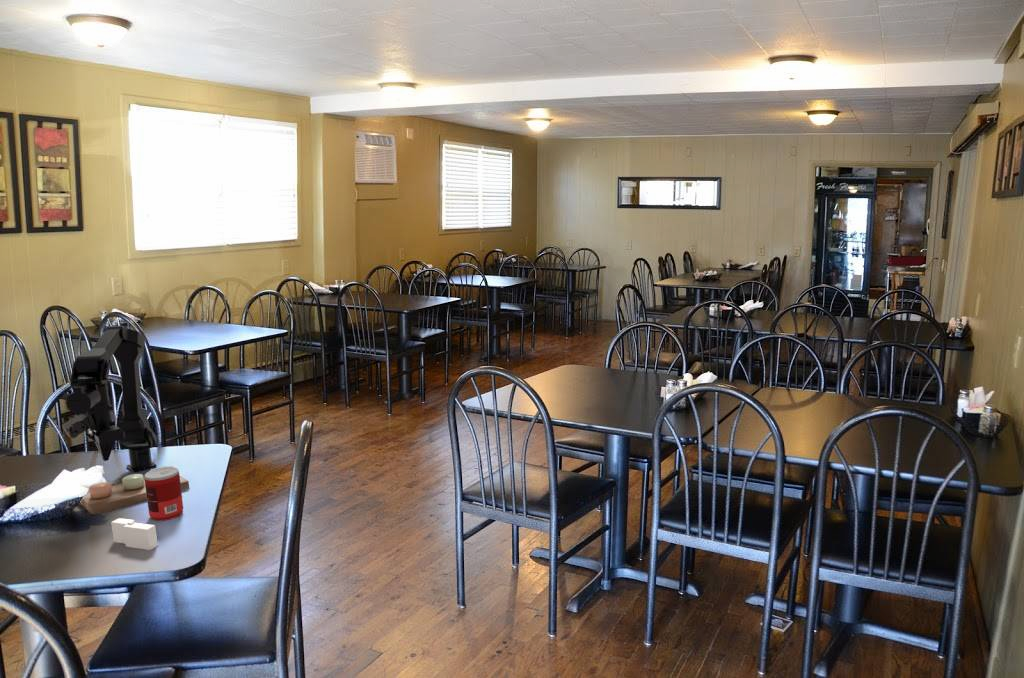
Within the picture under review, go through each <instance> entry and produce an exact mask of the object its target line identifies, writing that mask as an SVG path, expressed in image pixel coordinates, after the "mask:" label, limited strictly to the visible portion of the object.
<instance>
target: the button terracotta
mask: <svg viewBox="0 0 1024 678" xmlns="http://www.w3.org/2000/svg"><path fill="white" fill-rule="evenodd" d="M111 486H112V484H111V482H109V481H103V482H98V483H94V484H91V485H90V486H89V487H88V489H89V490H88V492H90V497H91V498H102V497H106V496H109V495H111V494H112V488H111Z"/></svg>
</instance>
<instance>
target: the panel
mask: <svg viewBox="0 0 1024 678" xmlns="http://www.w3.org/2000/svg"><path fill="white" fill-rule="evenodd" d="M179 476H180V484H181V491H184V490H188V489H190V484H189V482H190V481H189V480H187V479H186V478H184V477H183V476H181V475H180V474H179ZM143 479H144V477H143ZM111 488H112V494H111V495H109V496H106V497H102V498H91V497H90V491H88V493H87V492H86V493H87V494H86V496H84V497H83V498H82V499H81V504H80V505H82V507H84V508H85V509H86V510H87V511H88V512H89V513H90V514H91V515H92V516H94V515H98V514H102V513H105V512H108V511H111V510H116V509H119V508H120V509H121V508H122V507H123V508H124V507H126V506H129V505H134V504H138V503H140V502H144V501H147V495H146V487H145V479H144V485H143V486H142V487H140V488H137V489H130V490H127V489H124V488H123V482H122V483H120V484H119V483H118V484H115V485H111Z"/></svg>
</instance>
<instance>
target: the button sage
mask: <svg viewBox="0 0 1024 678" xmlns="http://www.w3.org/2000/svg"><path fill="white" fill-rule="evenodd" d="M143 478H144V474H142V473H134V474H127V475H126V476H124V477H122V478H121V480H122V483H123V488H124V489H127V490H130V489H137V488H140V487H142V486H143V485H144V479H143Z"/></svg>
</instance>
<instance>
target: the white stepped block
mask: <svg viewBox="0 0 1024 678" xmlns="http://www.w3.org/2000/svg"><path fill="white" fill-rule="evenodd" d="M111 529H112V536H113V537H112V538H113V542H114V543H119V544H125V547H127V548H134V549H140V550H141V549H142V550H146V551H147V550H148V551H150V550H151V551H152V549H154V548H156V547H158V546H159V544H158V538H157V528H156V524H150V523H148V524H147V523H140V522H136V519H129V518H128V519H127V518H123V517H122V518H121V517H118V518H116V519H114V520H113V521H111Z"/></svg>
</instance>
